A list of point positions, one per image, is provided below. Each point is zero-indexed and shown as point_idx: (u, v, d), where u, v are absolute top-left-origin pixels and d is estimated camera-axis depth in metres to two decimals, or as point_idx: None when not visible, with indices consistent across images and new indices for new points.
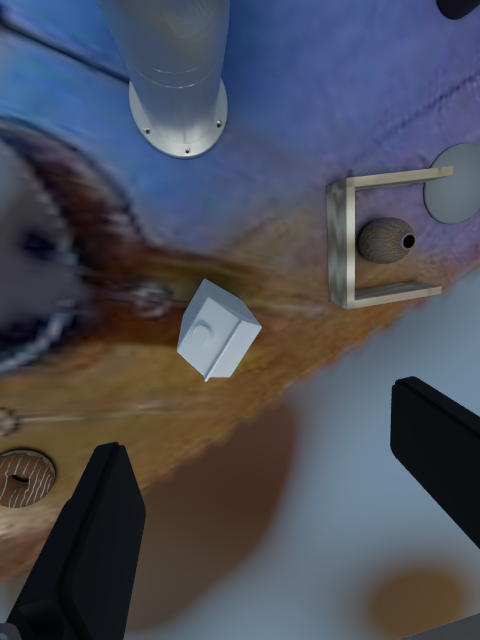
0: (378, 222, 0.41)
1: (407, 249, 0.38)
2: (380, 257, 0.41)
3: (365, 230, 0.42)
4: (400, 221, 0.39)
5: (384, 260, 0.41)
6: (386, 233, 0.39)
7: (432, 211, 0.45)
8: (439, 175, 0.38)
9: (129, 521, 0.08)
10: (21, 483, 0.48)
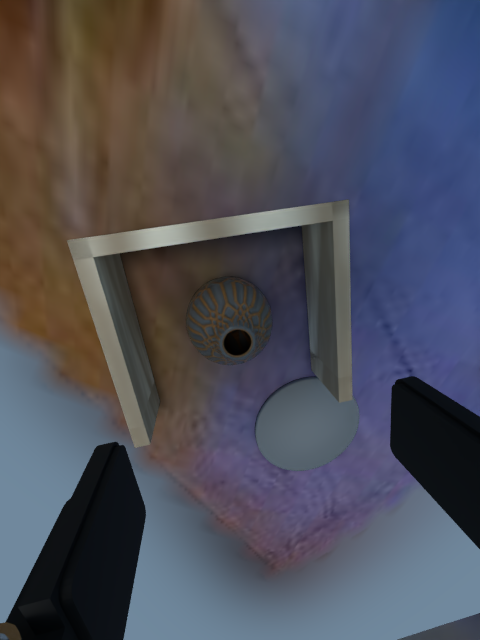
0: (263, 295, 0.21)
1: (221, 343, 0.17)
2: (199, 305, 0.19)
3: (246, 281, 0.23)
4: (269, 329, 0.20)
5: (192, 316, 0.20)
6: (248, 302, 0.19)
7: (273, 400, 0.29)
8: (340, 381, 0.23)
9: (129, 521, 0.08)
10: None
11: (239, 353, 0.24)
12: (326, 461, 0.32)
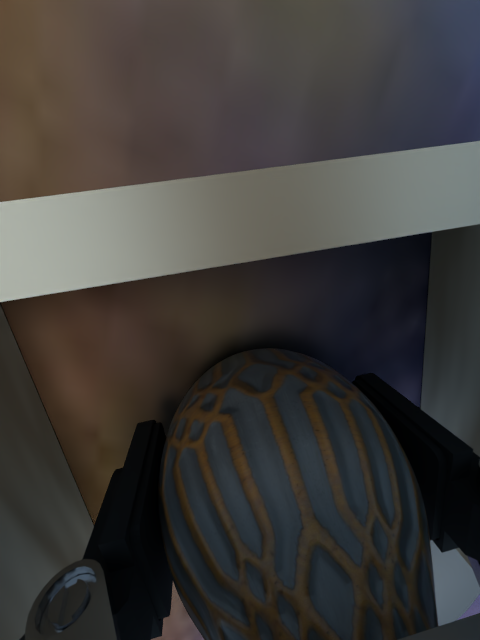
0: None
1: None
2: (196, 493, 0.05)
3: (320, 362, 0.09)
4: None
5: (173, 526, 0.06)
6: (384, 498, 0.05)
7: None
8: None
9: None
10: None
11: None
12: None
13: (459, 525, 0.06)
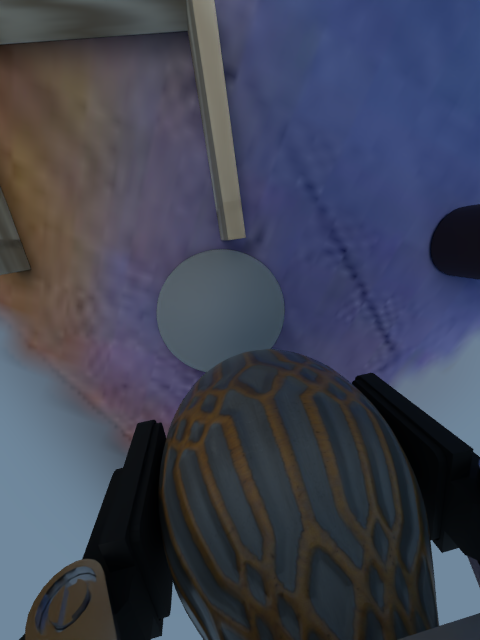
0: (382, 416, 0.07)
1: None
2: (196, 496, 0.05)
3: (320, 363, 0.09)
4: None
5: (173, 528, 0.06)
6: (385, 500, 0.05)
7: (174, 274, 0.24)
8: (226, 207, 0.18)
9: None
10: None
11: None
12: None
13: (459, 525, 0.06)
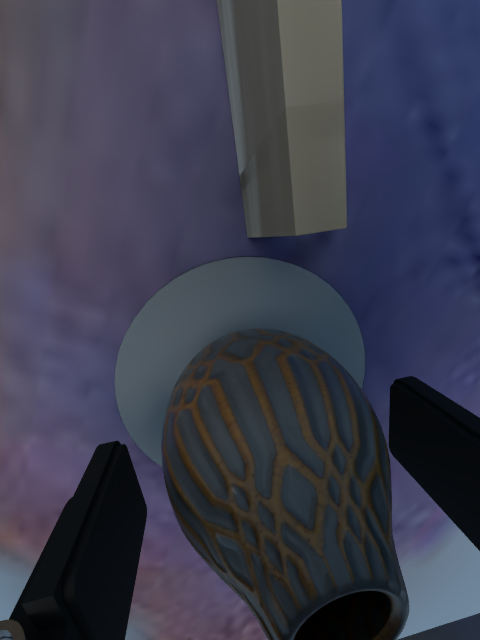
0: None
1: None
2: (191, 442, 0.07)
3: (298, 336, 0.10)
4: None
5: (175, 472, 0.07)
6: (344, 431, 0.06)
7: (150, 309, 0.11)
8: (295, 126, 0.05)
9: (130, 520, 0.08)
10: None
11: None
12: None
13: None
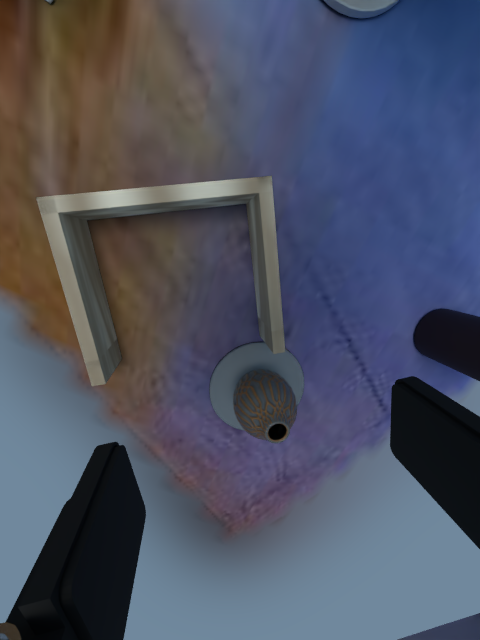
0: (289, 386, 0.30)
1: (266, 433, 0.25)
2: (246, 401, 0.28)
3: (275, 373, 0.31)
4: (296, 413, 0.28)
5: (241, 408, 0.28)
6: (281, 398, 0.27)
7: (225, 361, 0.32)
8: (273, 334, 0.27)
9: (129, 521, 0.08)
10: None
11: None
12: None
13: None
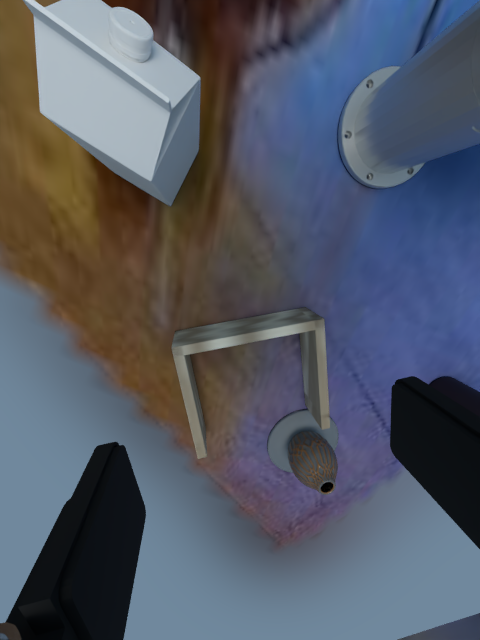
0: (331, 447, 0.40)
1: (319, 488, 0.36)
2: (302, 462, 0.38)
3: (319, 436, 0.41)
4: None
5: (298, 467, 0.39)
6: (328, 461, 0.38)
7: (280, 425, 0.43)
8: (322, 417, 0.37)
9: (129, 521, 0.08)
10: None
11: None
12: None
13: None
